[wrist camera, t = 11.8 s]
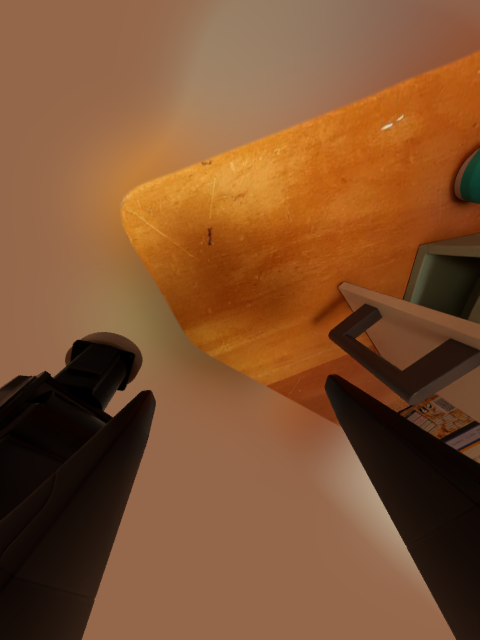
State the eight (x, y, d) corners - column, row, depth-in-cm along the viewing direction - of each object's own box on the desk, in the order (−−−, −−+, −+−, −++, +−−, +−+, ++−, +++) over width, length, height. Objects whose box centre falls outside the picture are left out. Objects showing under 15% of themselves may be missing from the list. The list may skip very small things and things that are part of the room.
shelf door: (354, 375, 29) (457, 471, 17) (304, 315, 22) (417, 404, 10) (386, 352, 28) (520, 438, 16) (344, 281, 21) (525, 337, 9)
